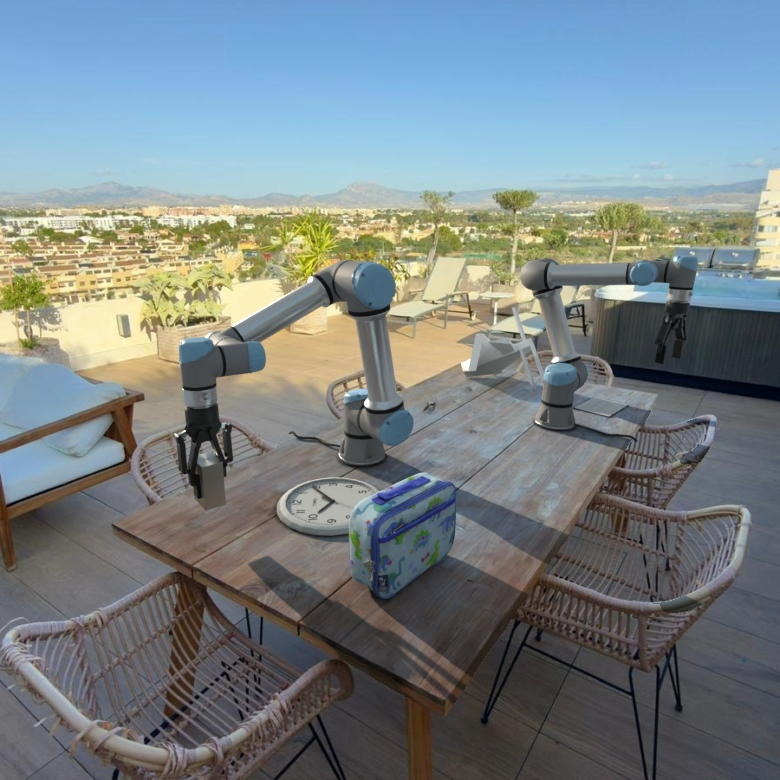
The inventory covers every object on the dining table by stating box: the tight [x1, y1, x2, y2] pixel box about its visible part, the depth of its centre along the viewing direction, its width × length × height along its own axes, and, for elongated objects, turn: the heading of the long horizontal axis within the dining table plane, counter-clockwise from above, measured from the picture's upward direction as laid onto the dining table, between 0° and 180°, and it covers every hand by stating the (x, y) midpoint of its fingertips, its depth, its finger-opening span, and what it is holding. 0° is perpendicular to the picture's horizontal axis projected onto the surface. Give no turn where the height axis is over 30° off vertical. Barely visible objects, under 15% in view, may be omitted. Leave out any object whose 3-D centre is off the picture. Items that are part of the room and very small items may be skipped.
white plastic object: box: [460, 306, 545, 391], centre depth 259 cm, size 37×45×31 cm
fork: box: [422, 395, 437, 412], centre depth 223 cm, size 3×16×2 cm, turn 160°
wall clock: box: [276, 476, 381, 537], centre depth 142 cm, size 30×2×30 cm
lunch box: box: [348, 471, 457, 600], centre depth 113 cm, size 26×11×21 cm, turn 134°
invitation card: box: [573, 396, 629, 418], centre depth 226 cm, size 21×1×15 cm
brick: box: [193, 451, 227, 511], centre depth 128 cm, size 8×5×12 cm
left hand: (209, 492), depth 129 cm, fingers closed on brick, 5 cm apart
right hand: (667, 360), depth 189 cm, fingers open, 13 cm apart
